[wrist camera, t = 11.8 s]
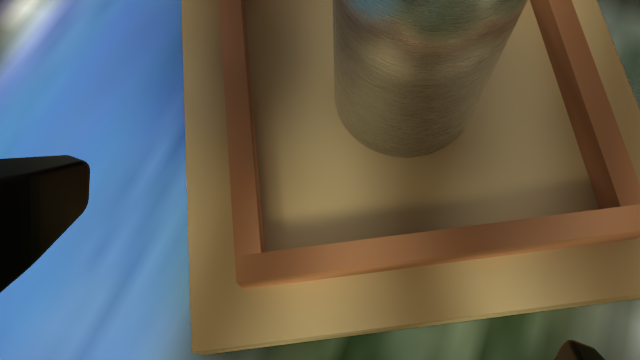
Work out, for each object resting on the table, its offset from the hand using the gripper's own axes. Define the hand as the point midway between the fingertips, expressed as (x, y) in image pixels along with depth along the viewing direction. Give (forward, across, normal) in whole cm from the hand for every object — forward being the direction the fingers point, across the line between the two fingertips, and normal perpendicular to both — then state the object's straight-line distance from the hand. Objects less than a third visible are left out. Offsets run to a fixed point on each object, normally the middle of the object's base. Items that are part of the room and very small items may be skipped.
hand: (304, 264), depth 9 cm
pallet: (+12, 0, 0) cm, 12 cm away
